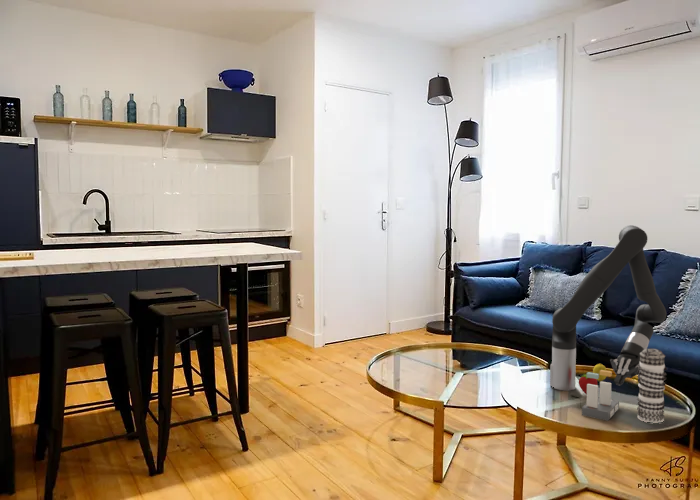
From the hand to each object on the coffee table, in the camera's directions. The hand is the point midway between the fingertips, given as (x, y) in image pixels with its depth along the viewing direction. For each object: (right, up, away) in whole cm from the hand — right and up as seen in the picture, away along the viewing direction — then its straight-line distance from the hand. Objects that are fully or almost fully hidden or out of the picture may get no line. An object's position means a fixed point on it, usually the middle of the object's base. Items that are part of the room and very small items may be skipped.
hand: (617, 384), depth 214 cm
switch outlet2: (-7, -6, -5) cm, 11 cm away
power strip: (-7, -9, -3) cm, 12 cm away
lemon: (+6, -6, +29) cm, 31 cm away
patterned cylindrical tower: (+6, -10, -12) cm, 16 cm away
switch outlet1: (-13, -7, -8) cm, 16 cm away
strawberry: (-6, -8, +13) cm, 16 cm away
